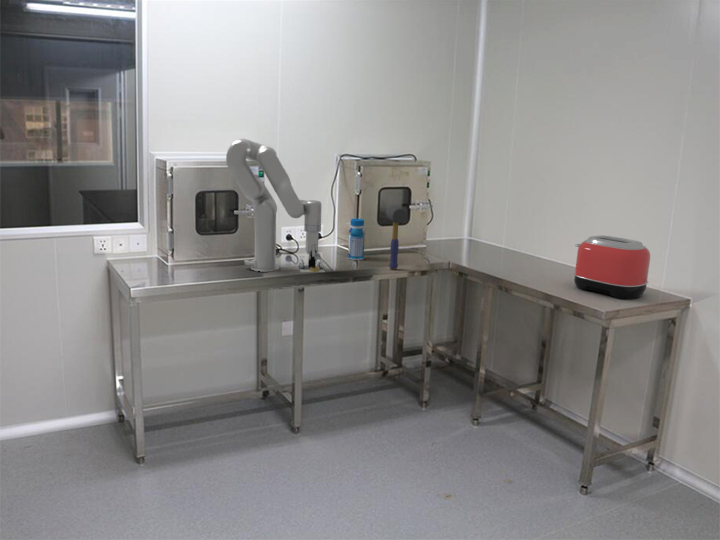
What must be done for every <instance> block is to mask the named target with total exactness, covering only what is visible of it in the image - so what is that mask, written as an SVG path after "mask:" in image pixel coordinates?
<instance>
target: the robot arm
mask: <svg viewBox="0 0 720 540" xmlns="http://www.w3.org/2000/svg"><path fill="white" fill-rule="evenodd" d="M277 155H278V154H277V152H276V150H275V149H274V148H273V147H272V146H268V145H265V144H261V143H258V142H255V141H253V140H250V139H246V138H237V139H236V140H234V141H233V142H232V143H231V144H230V146H229V147H228V149H227V152H226V156H225V157H226V158H225V159H226V160H225V161H226V166H227V168H228V170H229V172H230V174H231V176H232V177H233V179H234V181H235V182H236V184H237V186H238V188H239V190H240V191H241V193H242V195H243V196H244V197H245V198H246V199H247V200H249V201H250V203H251V204H252V206H253V207H254V213H253V215H254V216H253V217H254V218H253V220H254V258H253V259H251V260H245V259H244V265H247V266H251V268H250V269H251V270H252V271H253V270H254V271H253V272H258V271H260V273H268V272H274V271H278V270H280V266H279V265H277V263H276V262H277V258H276V256H277V213H278V206H277V205H278V204H277V202H276V200H275V199H274V198H273V196H272V194H271V193H270V191H269V189H268V187H267V186H266V184H265V183H264V182H263V180H262V179H260V178H258V177H256V175H255V174H254V172H253V170H252V168H251V166H250V165H249V164H248V162H247V160H249V161H252V162H255V163H258V164H259V166H260V167H261V169H262V171H263V173H264V174H265V176H266V178H267V180H268V182H269V183H270V185H271V186H272V188H273V190H274V192H275V194H276V196H277V197H278V199H279V201H280V202H281V204H282V206H283V208H284V209H285V212H287V214H288V215H289V217H290V218H292V219H299V218H302V217H303V216H304V227H303V228H304V229H303V231H304V232H306V233H305V246H304V248H305V249H304V250H305V252H306V254H308V262H307V263H308V264H307V266H308V267H309V268H310V267H311V266H317V265H316V264H317V260H316V259H317V258H316V257H317V256H316V255H317V254H318V252H319V233H320V232H322V202H321V201H319V200H314V199H313V200H311V199H310V200H304V199H299V197H298V195H297V194H296V192H295V190H294V187H293V185H292V183H291V179H290V177H289V174H288V173H287V171H286V169H285V168H284V165H283V164H282V163H281V161H280V159H279V157H278V156H277Z"/></svg>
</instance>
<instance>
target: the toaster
mask: <svg viewBox="0 0 720 540" xmlns="http://www.w3.org/2000/svg"><path fill="white" fill-rule="evenodd" d="M574 246H575V247H576V248H577V247H578V248H577V255H576V261H575V271H574V272H573V276H574V278H573V282H574V285H575V286H576V288H578V289H579V290H587V291H594V292H596V293H602V294H607V295H610V296H612V297H614V298H619V299H621V300H628V299H634V298H635V299H636V298H640V297H642V296H643V295H644V293H645V291H646V289H647V285H648V284H649V281H648V276H649V269H650V263H651V252H650V250H649V249H648V247H646V246H645V245H644V244H643V242H641V241H639V240H635V239H628V238H625V237H624V238H623V237H617V236H611V235H610V236H609V235H593V236H589V237H588V239H585V240H584V241H582V242H581V243H577V244H575V245H574Z"/></svg>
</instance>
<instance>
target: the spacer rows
mask: <svg viewBox="0 0 720 540" xmlns="http://www.w3.org/2000/svg"><path fill="white" fill-rule="evenodd" d="M316 264H317V265H316V266H318V267H320V269H324V266H323V265H324V262H323V260H322V259H319V258H318V259H317V260H316ZM299 266H300V269H304V266H305V262H304V260H303V259H302V258H299V260H298V267H299ZM300 269H299V270H300Z"/></svg>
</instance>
